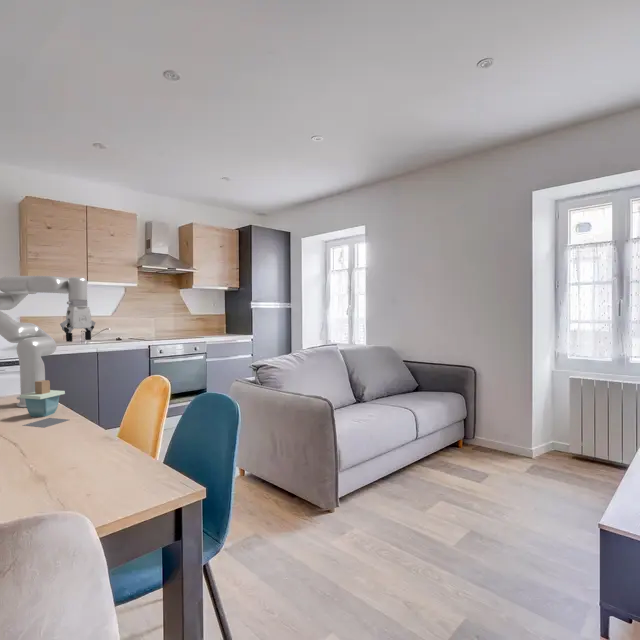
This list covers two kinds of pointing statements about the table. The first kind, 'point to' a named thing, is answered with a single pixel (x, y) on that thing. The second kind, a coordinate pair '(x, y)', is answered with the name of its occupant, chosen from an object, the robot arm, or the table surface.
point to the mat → (46, 422)
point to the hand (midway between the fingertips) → (78, 340)
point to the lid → (42, 391)
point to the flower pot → (42, 406)
